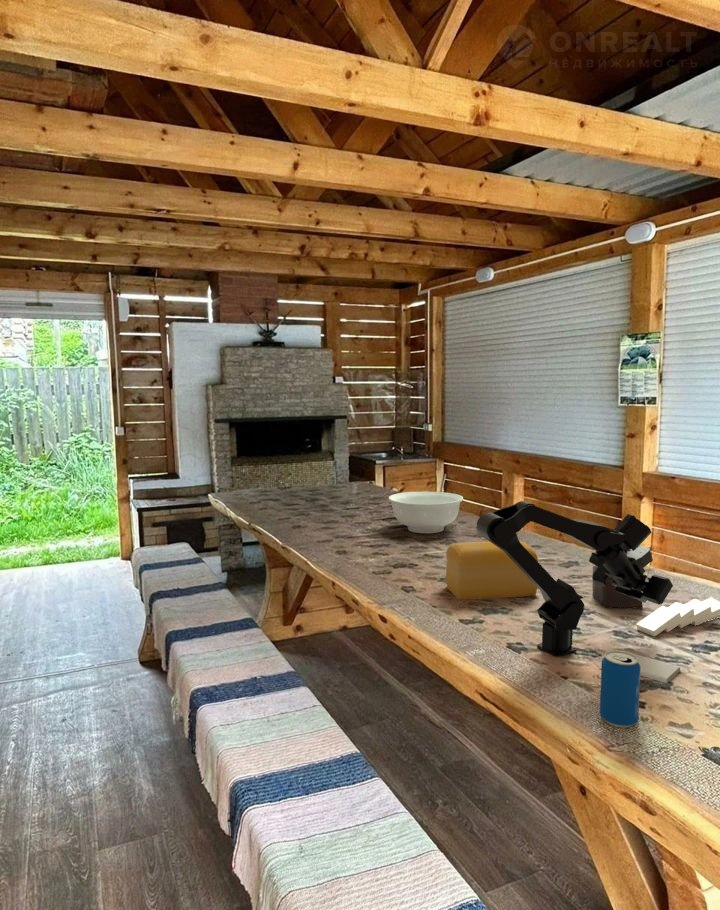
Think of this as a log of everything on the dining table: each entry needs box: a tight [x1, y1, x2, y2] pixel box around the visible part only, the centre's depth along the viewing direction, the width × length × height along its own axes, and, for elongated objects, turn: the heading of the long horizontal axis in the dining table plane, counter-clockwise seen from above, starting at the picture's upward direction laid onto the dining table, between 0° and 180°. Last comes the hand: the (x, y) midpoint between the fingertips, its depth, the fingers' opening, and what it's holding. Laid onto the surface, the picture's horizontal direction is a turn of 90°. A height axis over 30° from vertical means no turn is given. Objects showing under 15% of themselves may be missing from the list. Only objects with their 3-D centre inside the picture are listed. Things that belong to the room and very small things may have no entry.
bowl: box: [388, 491, 464, 534], centre depth 268 cm, size 32×32×15 cm
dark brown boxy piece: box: [591, 565, 644, 609], centre depth 177 cm, size 16×11×18 cm
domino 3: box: [678, 598, 712, 629], centre depth 159 cm, size 2×5×10 cm
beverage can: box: [599, 650, 641, 729], centre depth 112 cm, size 6×6×12 cm
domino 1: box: [636, 605, 681, 637], centre depth 155 cm, size 2×5×10 cm
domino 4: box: [690, 597, 720, 627], centre depth 160 cm, size 2×5×10 cm
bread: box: [445, 540, 539, 600], centre depth 185 cm, size 24×13×15 cm, turn 99°
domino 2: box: [662, 601, 695, 633], centre depth 157 cm, size 2×5×10 cm
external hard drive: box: [621, 650, 681, 684], centre depth 134 cm, size 2×8×12 cm
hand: (644, 600), depth 152 cm, fingers closed
